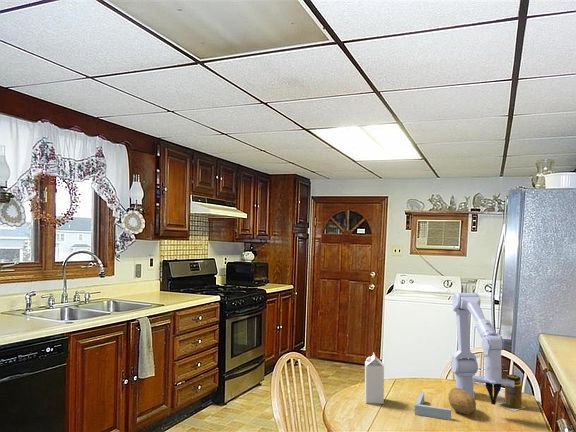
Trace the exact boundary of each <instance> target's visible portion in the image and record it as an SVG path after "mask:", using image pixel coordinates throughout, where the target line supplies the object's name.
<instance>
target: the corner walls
mask: <svg viewBox="0 0 576 432" xmlns="http://www.w3.org/2000/svg"><path fill="white" fill-rule="evenodd" d="M424 403H425V393H424V392H421V391H420V392H419V394H418V397H417V399H416V402H415V404H414V415H415V416H422V417H423V416H424V417H429V418H436V419H441V420H442V419H443V420H448V421H451V420H452V408H448V407H441V406H433V405H426V404H424Z"/></svg>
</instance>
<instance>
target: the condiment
mask: <svg viewBox="0 0 576 432" xmlns="http://www.w3.org/2000/svg"><path fill="white" fill-rule="evenodd" d="M505 379H506V380H512V381H514V382H515V387H511V386H504V403H500V404H497V406H499V407H500V408H503V409H507V410H510V411H512V412H517V411H519V410H522V409H526V406H524V405H523V404H522V403H523V402H522V399H523V398H522V393H523V392H522V390H523V389H522V382H521V376H519V375H516V374H506V375H505Z"/></svg>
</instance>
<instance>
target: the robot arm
mask: <svg viewBox="0 0 576 432" xmlns="http://www.w3.org/2000/svg"><path fill="white" fill-rule="evenodd" d="M452 310H453V312H455V317H456V319H455V320H456V335H457V336H456V337H457V351H455V352H454V353H453V354H451V360H450V361H451V362H450V368H451V372H453V373H454V374H455V388H460V389H463V390H465V391H466V392H467V393H469V394H470V395H471V396H472V397H473V398H474V399H475V394H476V393H475V390H474V384H475V383H479V384H485V388H486V390H487V392H488V395H489V398H490V402H491V405H493V406H494V405H495V406H496V402H497V399H498V395H499V393H500V391H501V389H502V387H503V386H504V387H505V386H511V387H515V382H514V381H512V380H506V378H502V351H503V350H504V348H505V341H504V337H503V336H502V335H501V334H499V333H498V332H496V330H495V328H494V327H493V325H492V323H491V322H490V320H488V319H486V317H485V315H484V313H483V310H482V308H481V297H480V295H479V293H478V292H455V293H454V294H453V295H452ZM470 314H471V316H472V318H473V319H474V321H475V328H476V330H477V332H478V334H479V336H480V338H481V347H482V353H483V355H484V376H482V375H481V376H479V375H478V376H476V374H477V372H478V370H479V364H478V361H477V356H476V355H475V354H474V353H473V352H472V351H471V340H470V339H471V338H470V337H471V336H470V322H469V320H470V319H469V318H470V317H469V315H470Z"/></svg>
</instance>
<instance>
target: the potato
mask: <svg viewBox="0 0 576 432" xmlns="http://www.w3.org/2000/svg"><path fill="white" fill-rule="evenodd" d="M448 401H449V402H448V403H449V405H450V406H451V409H453V410H454V411H456V412H457V413H461V414H465V415H469V414H472V413H473V412H474V411H475V409H477V404H476V400H475V397H474V398H473V397H472V396H471V395H470V394H469V393H467V392H466V391H465V390H463V389H460V388H456V387H453V388H451V389H450V390H449V392H448Z"/></svg>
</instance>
